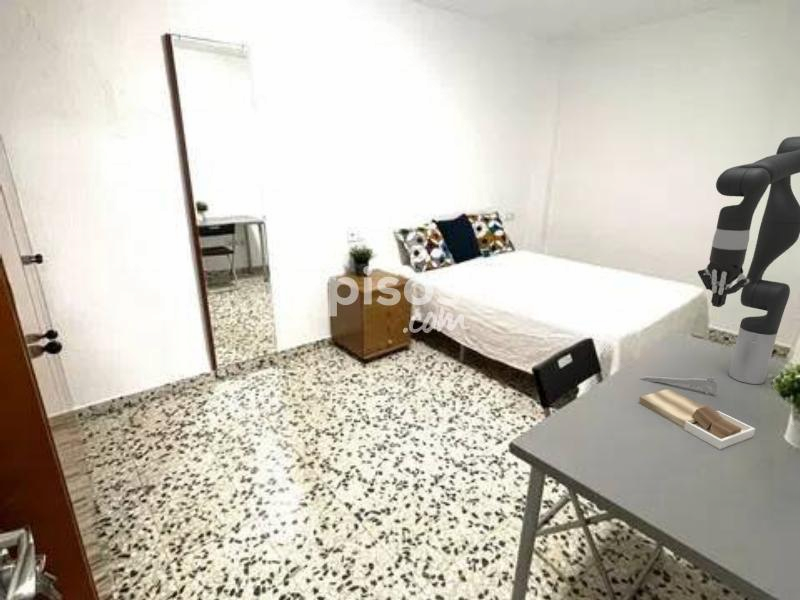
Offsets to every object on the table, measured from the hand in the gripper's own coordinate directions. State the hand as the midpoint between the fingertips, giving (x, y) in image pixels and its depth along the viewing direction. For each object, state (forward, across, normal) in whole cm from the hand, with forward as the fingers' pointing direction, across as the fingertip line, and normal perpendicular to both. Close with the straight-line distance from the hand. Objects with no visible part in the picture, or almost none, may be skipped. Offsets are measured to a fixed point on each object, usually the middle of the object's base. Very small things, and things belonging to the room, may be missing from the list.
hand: (717, 306), depth 116 cm
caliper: (+31, +8, -1) cm, 32 cm away
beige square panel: (+30, -2, +12) cm, 32 cm away
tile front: (+29, -15, +13) cm, 35 cm away
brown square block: (+28, -10, +13) cm, 32 cm away
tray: (+30, -13, +12) cm, 35 cm away
